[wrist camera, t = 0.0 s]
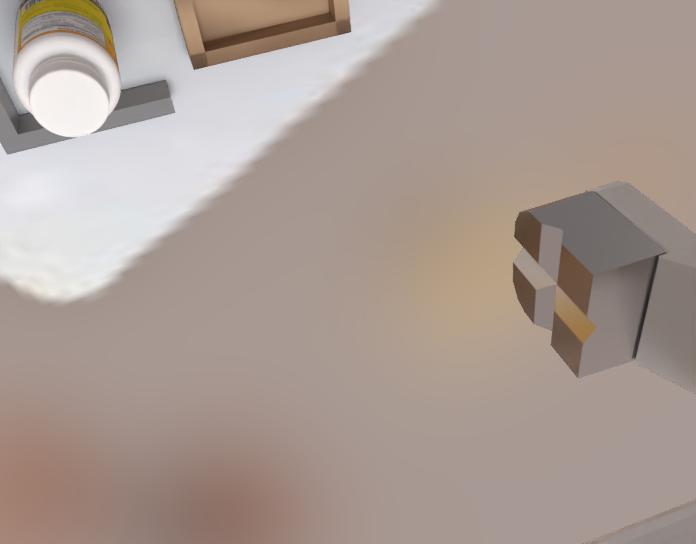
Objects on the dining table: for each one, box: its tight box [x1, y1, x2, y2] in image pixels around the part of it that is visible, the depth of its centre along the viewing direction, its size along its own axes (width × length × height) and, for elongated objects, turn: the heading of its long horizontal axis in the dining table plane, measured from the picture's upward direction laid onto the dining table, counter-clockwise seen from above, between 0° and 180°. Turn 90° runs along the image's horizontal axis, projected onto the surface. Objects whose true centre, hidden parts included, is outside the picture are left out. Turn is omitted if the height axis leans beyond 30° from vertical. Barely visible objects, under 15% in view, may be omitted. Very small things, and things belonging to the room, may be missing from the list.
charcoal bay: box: [0, 79, 175, 155], centre depth 41 cm, size 12×11×2 cm
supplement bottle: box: [13, 0, 121, 137], centre depth 39 cm, size 6×6×10 cm
